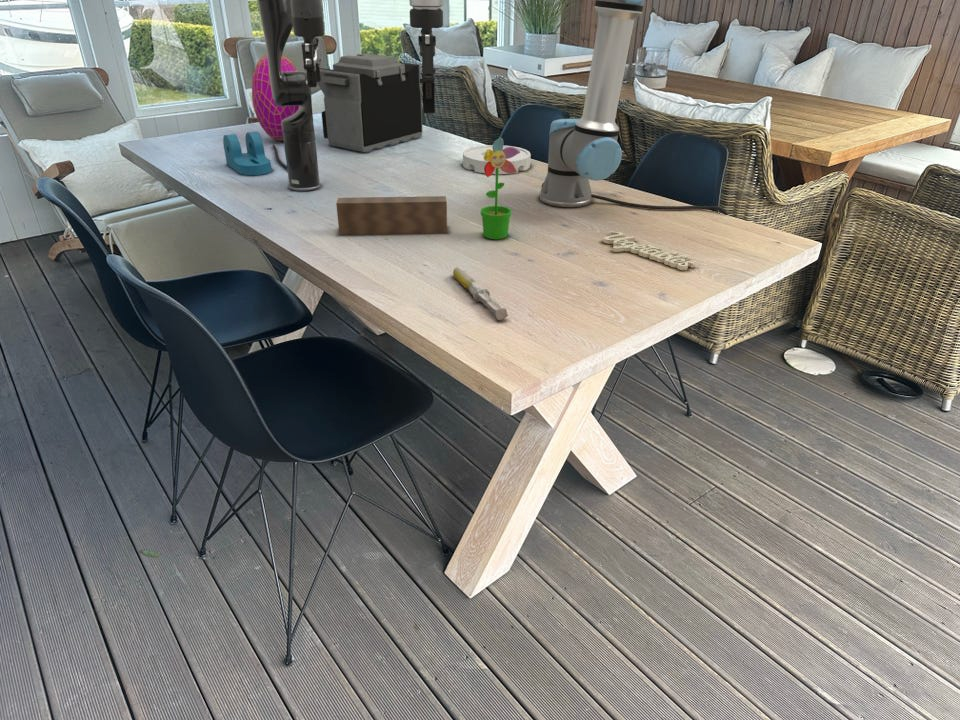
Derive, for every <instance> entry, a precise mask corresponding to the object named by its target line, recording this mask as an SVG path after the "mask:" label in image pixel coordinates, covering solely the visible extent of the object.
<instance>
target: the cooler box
mask: <svg viewBox="0 0 960 720" xmlns="http://www.w3.org/2000/svg"><path fill="white" fill-rule="evenodd" d="M320 76H321V81H320V82H317V86H318V87H319V89H320V90H321V93H322V94H323V95H324V96H323V103H324V104H323V105H324V110H323V111H321V124H322V132H323V138H324V139H325V140H327V141H328V144H329V145H330V146H333V147H337V148H342V149H346V150H351V151H356V152H361V153H370V152H372V151H373V150H374V149H376V150H380V149H384V148H385V147H386V146H391V147H392V146H396V145H397V144H398V143H399V142H401V143H406V142H409V141H410V140H416V139H420V138H421V137H423V97H422V88H421V83H420V79H421V67H420V64H417V63H416V64H415V63H408V62H399V60H398V59H397V57H396V56H393V55H384V54H375V53H357V54H356V55H341V56H340V58H339V60H338V62H336V63H333V64H332V68H324V67H320Z"/></svg>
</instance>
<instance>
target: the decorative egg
mask: <svg viewBox="0 0 960 720" xmlns="http://www.w3.org/2000/svg"><path fill="white" fill-rule="evenodd" d="M253 70H254V71H253V73H252V77H251V101H252V107H253V110H254V114H255V116H256V118H257V121H258V123H259V125H260V127H261V128H262V130H263V131H264V133H266V135H267V136H268V137H270V138H271V139H273V140H275V141H282V142H284V141H283V133H282V126H281V122H282V120H283V119H284V118H286V117H288V116H290V115H292V114H294V113H295V112H296V111H297V110H298V109H299V105H298V106H282V107H281V106H277V105H276V104H275V102H274V99H273V96H272V91H271V84H270V75H269V66H268V58H267V55H265V56H262V57H261V58H260V59H259V60H258V61H257V62H256V65H255V68H254V69H253ZM288 71H298V69H297V67H296V66H295V65H294V63H293V62H292V61H291V60H290V59H288V58H287V57H285V56H283V55H282V58H281V72H288Z"/></svg>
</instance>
